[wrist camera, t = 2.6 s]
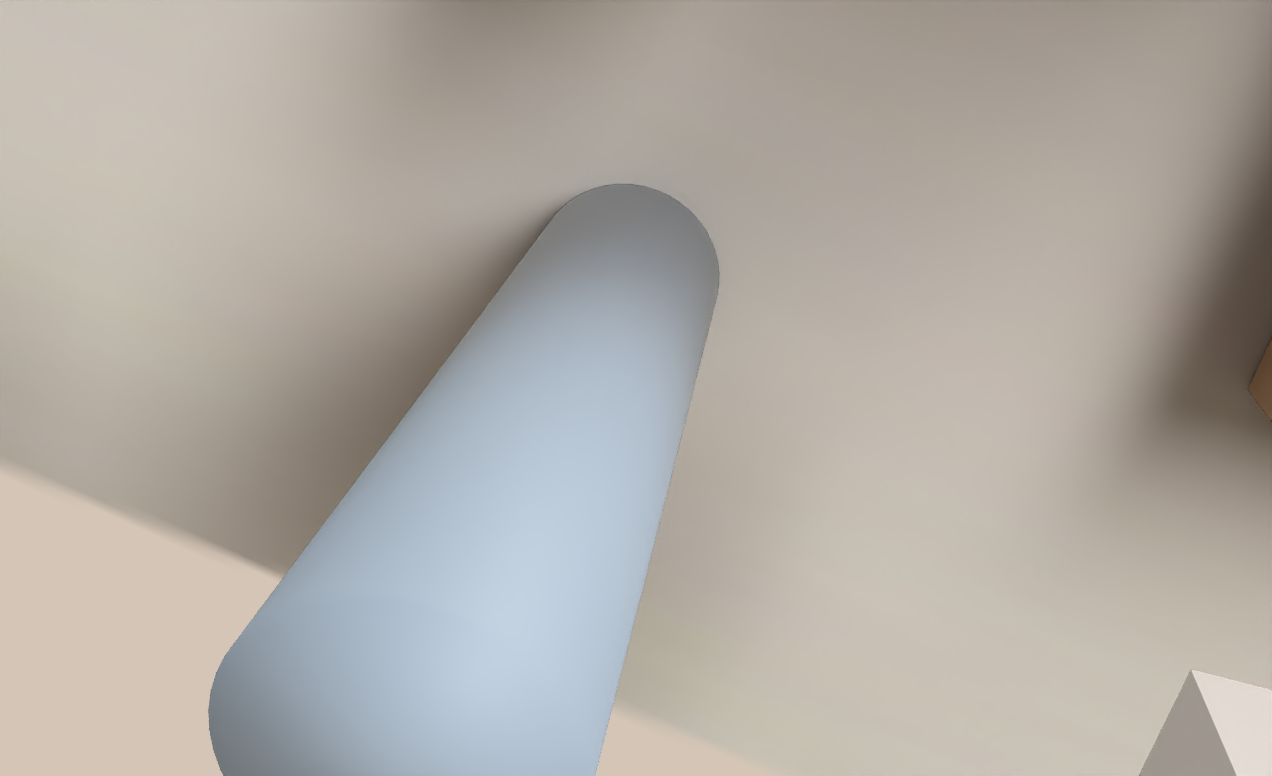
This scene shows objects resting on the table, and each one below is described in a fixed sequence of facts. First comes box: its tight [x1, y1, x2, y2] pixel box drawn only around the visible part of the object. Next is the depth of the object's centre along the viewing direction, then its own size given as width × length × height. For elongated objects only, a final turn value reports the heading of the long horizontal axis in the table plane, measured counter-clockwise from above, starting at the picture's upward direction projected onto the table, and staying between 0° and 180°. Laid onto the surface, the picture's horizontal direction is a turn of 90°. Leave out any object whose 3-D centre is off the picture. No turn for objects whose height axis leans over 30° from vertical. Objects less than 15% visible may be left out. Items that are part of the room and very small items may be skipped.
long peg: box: [209, 184, 719, 776], centre depth 15 cm, size 3×3×12 cm
